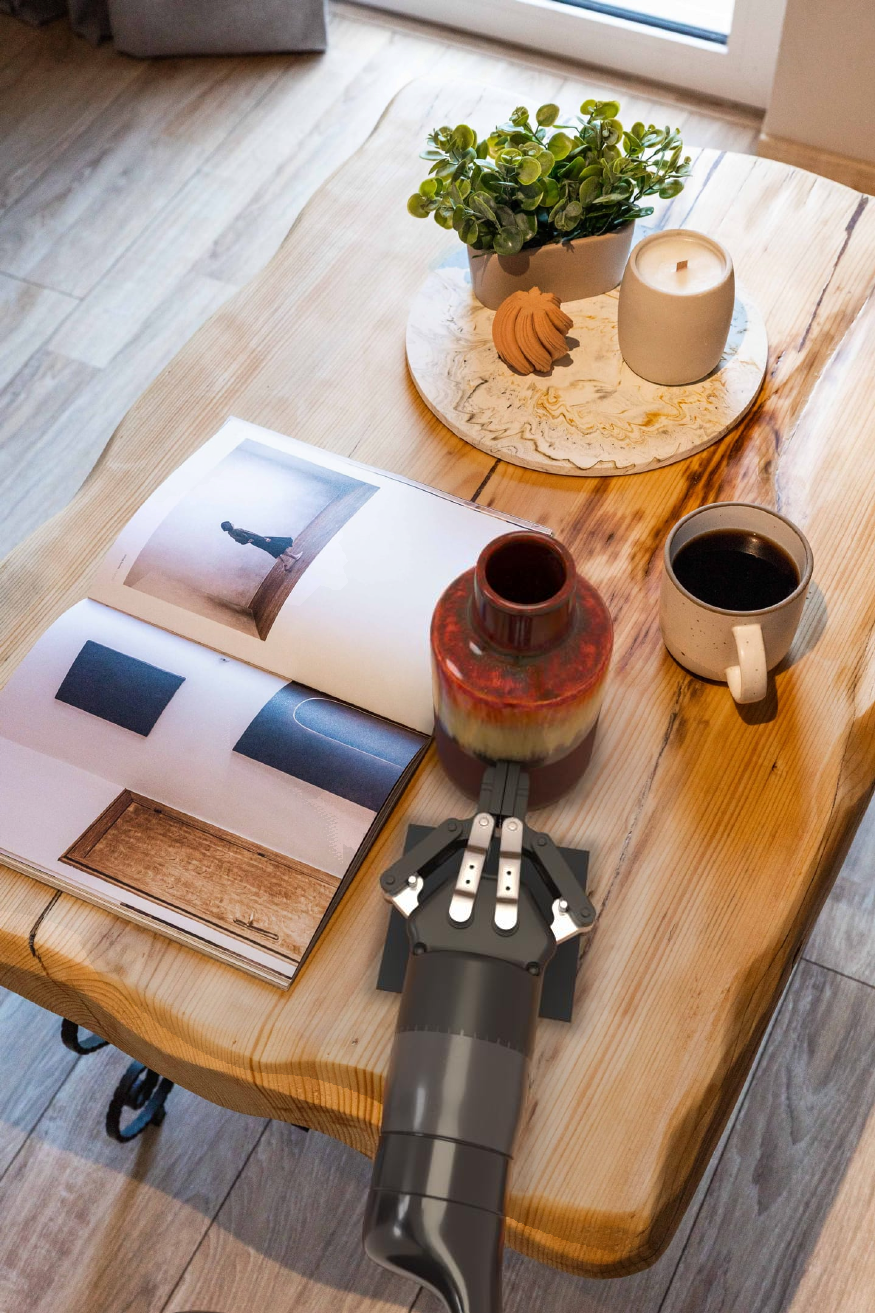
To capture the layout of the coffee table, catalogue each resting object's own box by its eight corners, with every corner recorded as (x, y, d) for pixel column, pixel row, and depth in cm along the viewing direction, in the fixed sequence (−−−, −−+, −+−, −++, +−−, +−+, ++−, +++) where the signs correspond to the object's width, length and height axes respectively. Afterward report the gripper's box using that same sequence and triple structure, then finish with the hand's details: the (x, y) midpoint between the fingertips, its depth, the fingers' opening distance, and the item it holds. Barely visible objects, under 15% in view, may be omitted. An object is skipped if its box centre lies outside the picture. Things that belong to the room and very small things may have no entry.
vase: (523, 845, 73) (539, 692, 55) (403, 747, 77) (383, 576, 59) (623, 735, 77) (668, 560, 59) (504, 647, 81) (514, 460, 63)
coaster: (376, 989, 68) (375, 988, 68) (409, 824, 74) (409, 823, 74) (570, 1022, 67) (571, 1021, 67) (589, 851, 72) (589, 851, 72)
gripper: (592, 1065, 55) (624, 754, 64) (333, 1018, 57) (399, 721, 65) (579, 1092, 62) (610, 806, 70) (347, 1049, 63) (406, 775, 72)
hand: (508, 766), depth 68 cm, fingers closed
